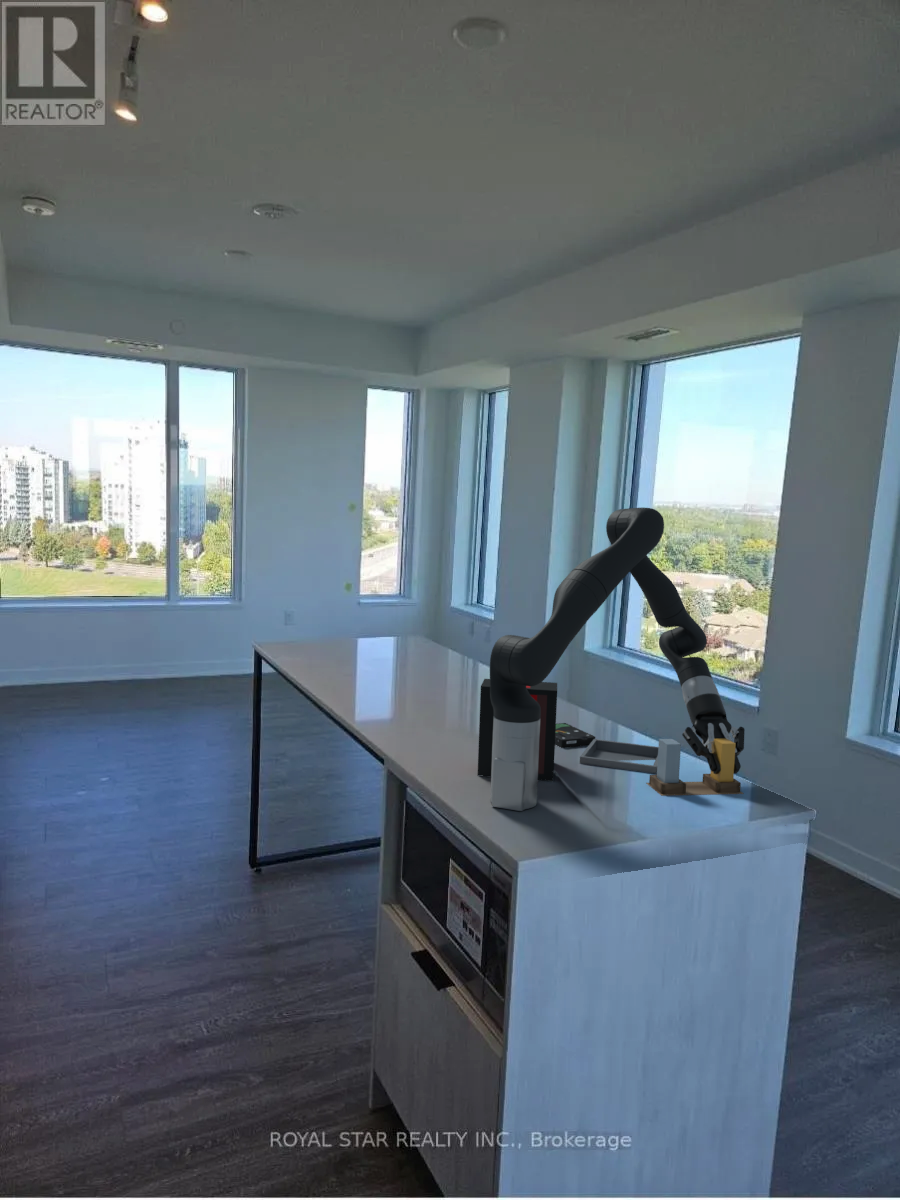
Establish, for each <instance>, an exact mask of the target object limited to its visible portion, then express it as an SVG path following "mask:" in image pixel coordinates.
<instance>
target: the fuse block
mask: <svg viewBox="0 0 900 1200" xmlns="http://www.w3.org/2000/svg"><path fill="white" fill-rule="evenodd" d="M648 780H649V781H648V782H645V784H647V785H648V786H649V787H650V788H651V789H652V790H654V791H655V792H656V793H657V794H659V795H660V796H663V797H665V796H667V797H669V796H671V797H672V796H676V797H677V796H702V795H703V796H707V795H708V796H709V795H710V796H711V795H744V792H743V791H741V788H742V787H741V785H742V784H741V781H738V779H736V778H734V777H733V782H718V781H717V780H715V779H714V778H712V777H711V776H710V773H702V781H683V780H681V779H680V778H679V783H663V782H662V781H661V780H659V779H658V778H657V774H649V779H648Z"/></svg>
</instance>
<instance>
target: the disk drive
mask: <svg viewBox="0 0 900 1200" xmlns="http://www.w3.org/2000/svg"><path fill="white" fill-rule="evenodd" d="M593 739H596V736H594V735H592V734H591V733H588V732H587V731H584V730H581V729H579V728H578V727H575V726H573V725H571V724H569V723H567V722H560V723H556V731H555V746H556V745H557V747H558V746H559V748H560V747H561V748H560V749H566V748H576V747H586V746H587V747H588V746H589V745H590V743H591V742H592V741H593Z"/></svg>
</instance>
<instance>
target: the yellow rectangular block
mask: <svg viewBox="0 0 900 1200" xmlns="http://www.w3.org/2000/svg"><path fill="white" fill-rule="evenodd" d="M735 746H736V743H734V741H733V742H732V741H730V740H728V739H726V738H714V754H716V755H717V758H718V761H719V764H720V767H721V771H720V772H719V773H718V774H714V773H713V771H711V770H710V773H709V774H710V776H711V777H712V778H714V779H715V780H717V781H718V782H733V778H734V777H735V774H734V761H735Z"/></svg>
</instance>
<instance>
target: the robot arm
mask: <svg viewBox="0 0 900 1200" xmlns="http://www.w3.org/2000/svg"><path fill="white" fill-rule="evenodd" d="M605 528H606V536H607V539H608V541H609V543H610V546H608V547H606V548H604V549H602V550H601V551H599V552H597V553H595V554H594V555H592V556H590V557H589V558H587V559H585V560H582V562H580V563H578V564H577V565H576V566H575V567H574V568H573V569H572V570H571V571H570V572H569V573H568V574H567V576H565V578H564V579H563V580H562V581H561V582H560V583H559V585H558V586H557V588H556V589H555V592H554V596H553V600H552V601H553V602H552V608H551V609H552V610H551V615H550V618H549V620H548V621H547V622H546V623H545V625H544V626H543V627H542V628H541V629H540V630H539V631H538V632H537V633H536V634H535V635H533V636H532V637H525V636H520V635H515V634H506V635H503V636H500V637H499V638H498V639H497V641H496V642H495V643H494V645H493V647H492V649H491V651H490V653H491V654H490V657H489V658H490V659H489V679H490V699H491V703H492V706H493V709H494V720H493V744H492V770H491V777H490V799H489V800H490V803H491V807H494V808H500V809H506V810H512V811H519V812H523V811H524V810H528V809H532V808H534V807H536V805H537V804H538V782H539V780H538V760H539V736H540V715H541V708H540V705H539V703H538V702H537V701H536V700H535V699H534V698H533V697H532V696H531V695H530V694H529V692H528V690H527V688H526V686H535V685H538V684H539V683H541V682H544V681H545V680H546V678H547V677H548V676H549V675H550V673H551V672H552V670H553V669H554V667H556V665H557V663H558V662H559V661H560V659H561V658H562V656H563V654H564V653H565V652H566V649H568V647H569V645H570V643H572V641H573V640H574V639H575V637H576V636H577V635H578V633H579V632H580V631H581V630H582V629H583V627H584V626H585V624H586V623H587V622H588V621H589V620H590V618H592V616H593V615H594V614H595V613H596V612H597V611H598V610H599V609H600V608H601V606H602V605H603V604H604V603H605V601H607V600H608V598H609V596H610V595H611V593H612V592H613V591H614V590H615V589H616V587H618V586H619V584H620V583H621V582H622V581H623V580H624V579H625V578H626V576H627V575H628V574H629V573H630V574H631V576H632V577H633V578H634V581H635V582H636V583H637V585H638V586H639V588H640V590H641V591H642V593H643V595H644V596H645V599H646V601H647V603H648V606H649V607H650V609H651V612H652V614H653V617H654V619H655V622H656V623H657V624H658V625H659V626H660V627H663V628H672V629H669V630H666V631H664V632H662V633H661V634H660V636H659V640H658V645H659V649H660V651H661V652H662V654H663V655H664V656H665V658H666V659H667V660H668V662H669V663H670V664H671V666H672V667H673V669H674V671H675V674H676V675H677V676H676V677H677V678H678V681H679V685H680V687H681V692H682V698H683V701H684V703H685V707H686V710H687V713H688V716H689V719H690V722H691V724H692V727H690V726H687V727H686V728H685V729H684V731H683V732H682V734H681V735H682V737H683V738H684V740H685V741H686V743H688V746H689V747H690V748H691V750H693V752H694V753H695V755H696V756H697V757H701V756H702V757H704V758H705V759H706V760H707V765H708V767H709V770H710V772H711V771H713V773H714V774H718V773H719V772H720V771H721V767H720V764H719V761H718V758H717V755H716V754H714V738H726V739H728V740H730V741H732V742H734V743H736V746H735V761H734V775H735V774H736V775H737V774H738V772H740V769H741V767H742V765H741V763H740V760H739V757H738V756H740V755H741V753H742V751H743V750H745V727H743V726H739V727H736V726H732V724H731V723H730V722H729V720H728V719H727V718H728V717H727V713H726V709H725V707H724V704H723V701H722V699H721V696H720V693H719V690H718V688H717V685H716V684H715V682H714V680H713V677H712V675H711V671H710V669H709V666H708V663H707V661H706V659H704V658H702V657H699V656H691V655H694V654H697V653H699V652H702V651H703V650H705V649H706V647H707V642H708V640H707V639H708V638H707V635H706V634H705V630H703V628H701V626H700V625H699V624H698V622H697V621H696V620H695V619H694V618H693V617H692V616H691V615H690V614H689V612H688V610H687V609H686V607H685V605H684V602H683V600H682V598H681V596H680V593H679V591H678V589H677V587H676V586H675V583H674V582H672V580H671V579H670V578H669V576H667V574H665V573H664V572H663V571H662V570H660V569H659V567H658V566H657V565H656V564H655V563H653V561H652V560H651V559H650V558H649V556H648V555H649V554H650V553H651V552H652V551H653V550H654V549H655V548H656V546H658V544H659V543H660V541H661V539H662V537H663V534H664V530H665V521H664V517H663V516H662V514H661V513H660V512H659V511H658V510H657V509H655V508H651V507H631V508H622V509H621V508H620V509H616V510H614V511H613V512H611V514H609V516H608V518H607V520H606V526H605ZM730 733H731V735H730ZM731 736H732V737H731ZM732 738H733V739H734V740H733V739H732ZM700 739H701V740H700Z"/></svg>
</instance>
